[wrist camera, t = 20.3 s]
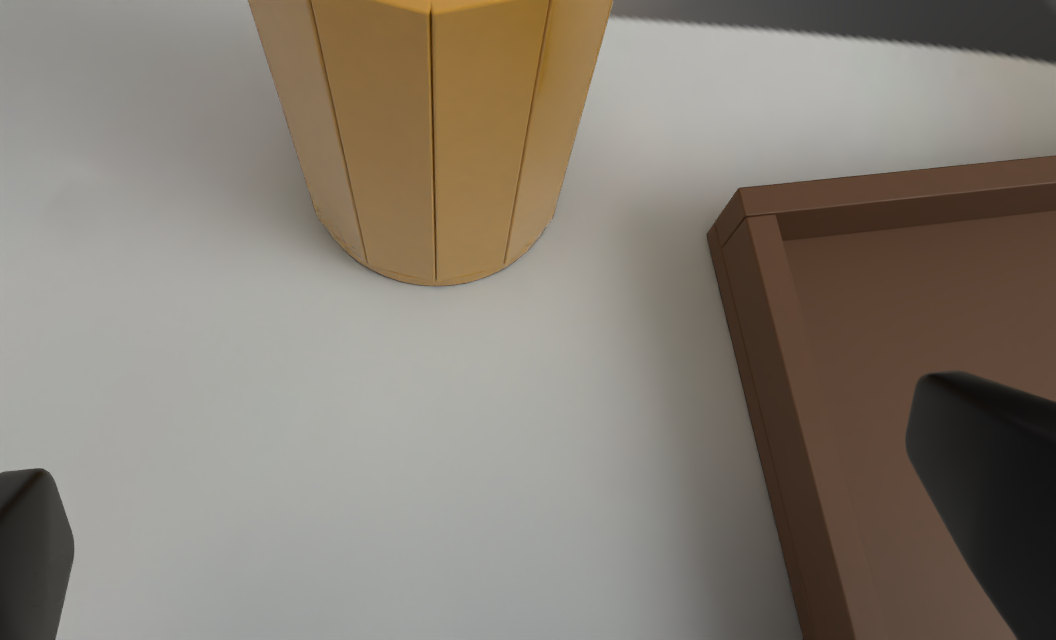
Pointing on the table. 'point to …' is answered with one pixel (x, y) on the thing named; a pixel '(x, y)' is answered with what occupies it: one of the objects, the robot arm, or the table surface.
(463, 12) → the cup
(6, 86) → the table surface
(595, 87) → the table surface
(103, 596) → the table surface
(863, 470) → the tray
